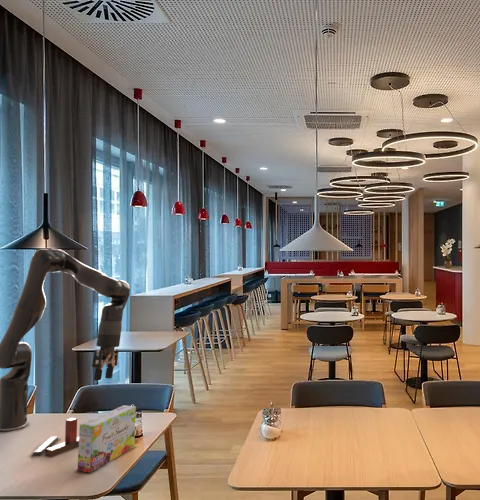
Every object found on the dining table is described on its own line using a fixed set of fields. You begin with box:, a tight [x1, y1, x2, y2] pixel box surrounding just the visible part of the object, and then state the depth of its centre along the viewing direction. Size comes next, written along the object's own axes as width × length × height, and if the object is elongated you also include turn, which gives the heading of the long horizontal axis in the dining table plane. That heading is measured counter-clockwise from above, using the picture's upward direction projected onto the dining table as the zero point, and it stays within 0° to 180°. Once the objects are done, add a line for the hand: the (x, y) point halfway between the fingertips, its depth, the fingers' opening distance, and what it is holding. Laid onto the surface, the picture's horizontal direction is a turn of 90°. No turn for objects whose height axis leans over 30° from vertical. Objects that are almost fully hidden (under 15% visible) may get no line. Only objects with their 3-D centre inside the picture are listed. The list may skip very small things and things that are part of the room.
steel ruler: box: [32, 436, 59, 457], centre depth 166 cm, size 2×14×1 cm, turn 11°
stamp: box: [44, 417, 79, 457], centre depth 167 cm, size 4×16×10 cm, turn 156°
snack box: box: [77, 404, 137, 473], centre depth 158 cm, size 21×6×15 cm, turn 168°
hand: (103, 379), depth 166 cm, fingers open, 8 cm apart
